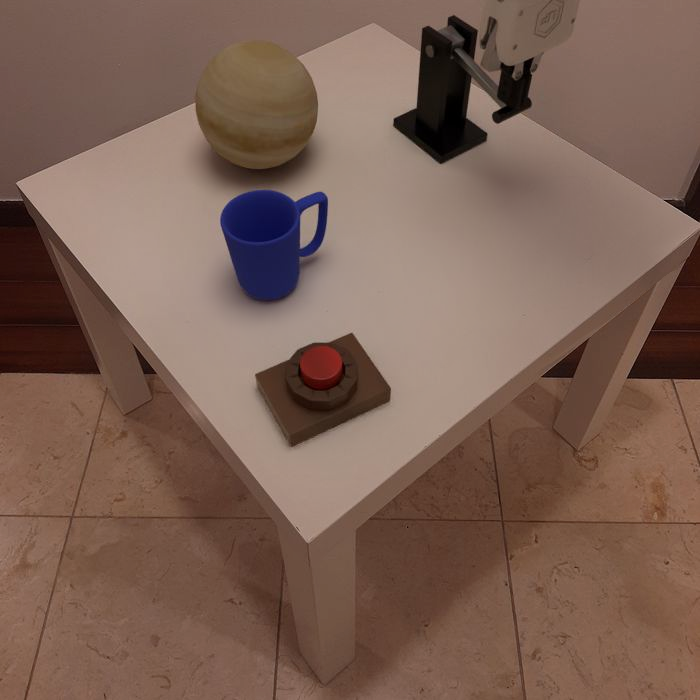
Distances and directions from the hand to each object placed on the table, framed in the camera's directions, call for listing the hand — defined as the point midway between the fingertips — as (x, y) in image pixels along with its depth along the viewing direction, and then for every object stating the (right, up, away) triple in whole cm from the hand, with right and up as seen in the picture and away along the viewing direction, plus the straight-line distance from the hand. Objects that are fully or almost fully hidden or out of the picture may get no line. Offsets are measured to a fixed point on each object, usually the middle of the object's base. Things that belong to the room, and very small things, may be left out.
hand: (511, 101), depth 85 cm
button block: (-21, -33, -11) cm, 41 cm away
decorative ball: (-30, -3, +12) cm, 32 cm away
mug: (-26, -20, -1) cm, 33 cm away
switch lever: (-4, +4, +4) cm, 6 cm away
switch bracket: (-7, +1, +14) cm, 16 cm away
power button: (-21, -31, -14) cm, 40 cm away
